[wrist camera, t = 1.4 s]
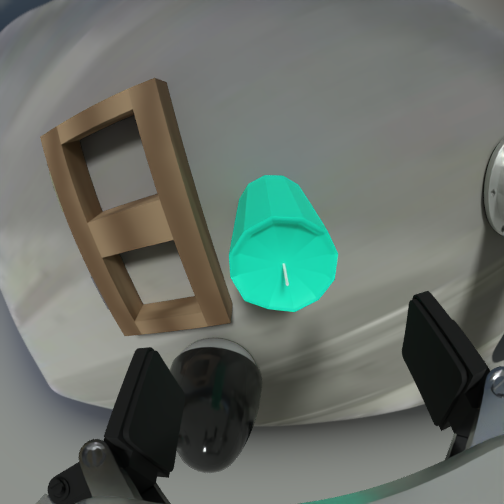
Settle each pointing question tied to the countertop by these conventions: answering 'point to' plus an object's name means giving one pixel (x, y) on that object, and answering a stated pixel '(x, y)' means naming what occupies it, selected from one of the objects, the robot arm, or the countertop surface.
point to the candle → (280, 247)
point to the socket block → (139, 214)
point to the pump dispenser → (216, 402)
